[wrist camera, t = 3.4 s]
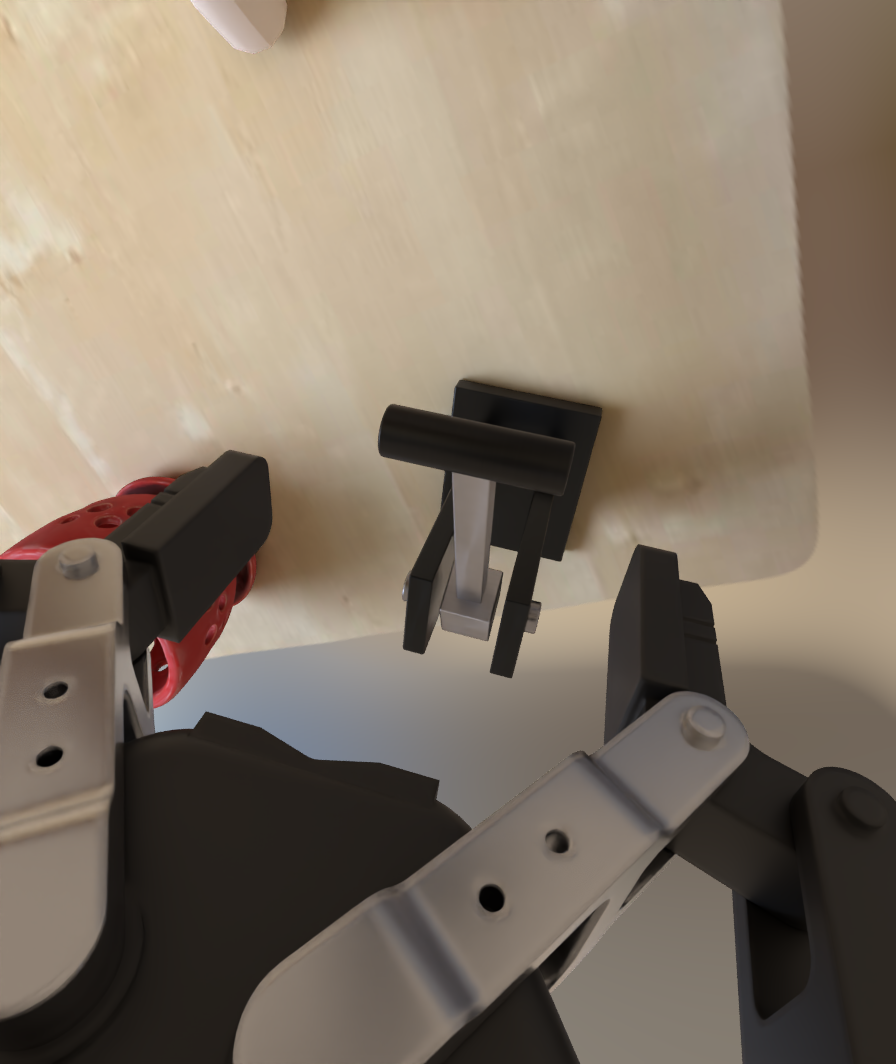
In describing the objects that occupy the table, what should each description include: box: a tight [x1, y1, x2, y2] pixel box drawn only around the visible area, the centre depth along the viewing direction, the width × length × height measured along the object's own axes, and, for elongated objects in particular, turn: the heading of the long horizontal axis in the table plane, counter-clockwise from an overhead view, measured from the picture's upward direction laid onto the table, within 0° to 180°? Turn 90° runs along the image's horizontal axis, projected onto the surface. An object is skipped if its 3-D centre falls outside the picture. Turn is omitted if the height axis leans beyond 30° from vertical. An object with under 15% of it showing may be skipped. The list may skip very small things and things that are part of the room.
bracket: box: [402, 380, 602, 678], centre depth 31 cm, size 10×8×14 cm
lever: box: [378, 404, 575, 641], centre depth 22 cm, size 14×5×2 cm, turn 174°
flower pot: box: [0, 477, 256, 709], centre depth 41 cm, size 13×13×12 cm
